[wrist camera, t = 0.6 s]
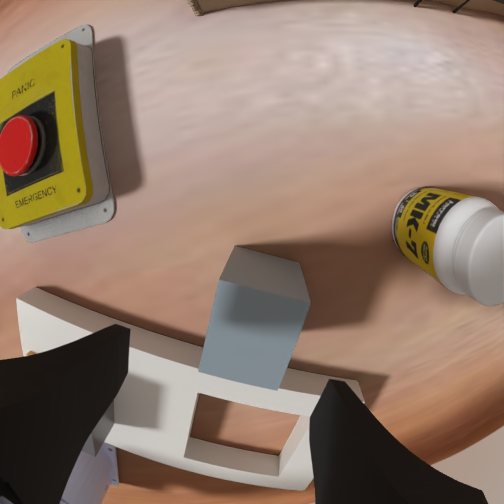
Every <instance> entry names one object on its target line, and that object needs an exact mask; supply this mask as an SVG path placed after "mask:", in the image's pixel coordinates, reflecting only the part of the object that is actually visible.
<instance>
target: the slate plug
mask: <svg viewBox="0 0 504 504" xmlns="http://www.w3.org/2000/svg"><path fill="white" fill-rule="evenodd" d="M310 305H311V301H310V298H309V294H308V290H307V287H306V283H305V280H304V276H303V273H302V270H301V266H300V263H299V262H295V261H291V260H287V259H284V258H280V257H276V256H272V255H269V254H265V253H261V252H257V251H253V250H250V249H246V248H242V247H238V246H234V249H233V251H232V253H231V255H230V257H229V259H228V261H227V263H226V266H225V268H224V270H223V272H222V274H221V276H220V279H219V282H218V286H217V290H216V295H215V299H214V303H213V307H212V312H211V316H210V321H209V325H208V329H207V334H206V338H205V343H204V347H203V352H202V356H201V361H200V365H199V370H198V372H201V373H205V374H208V375H212V376H216V377H219V378H223V379H227V380H231V381H235V382H239V383H244V384H248V385H252V386H257V387H261V388H266V389H271V390H276V391H278V388H279V386H280V384H281V381H282V379H283V376H284V374H285V371H286V369H287V366H288V364H289V361H290V359H291V356H292V353H293V351H294V348H295V346H296V343H297V340H298V338H299V335H300V332H301V330H302V327H303V324H304V322H305V319H306V316H307V313H308V310H309V308H310Z"/></svg>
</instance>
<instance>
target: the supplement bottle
mask: <svg viewBox="0 0 504 504" xmlns="http://www.w3.org/2000/svg"><path fill="white" fill-rule="evenodd" d="M392 235H393V239H394V242H395V244H396V246H397V248H398V249H399V250H400V252H401V253H402V254H403V255H404V256H406V257H407V258H408V259H409V260H411V261H412V262H413V263H415V264H416V265H417V266H419V267H420V268H421V269H423V270H424V271H425V272H426V273H428V274H429V275H430V276H432V277H433V278H434V279H436V280H437V281H438V282H439V283H441V284H442V285H443V286H444V287H446V288H447V289H448V290H450V291H452V292H454V293H456V294H460V295H468V296H469V297H471V298H473V299H474V300H476V301H477V302H479V303H480V304H483V305H486V306H495V305H498V304H501V303H503V302H504V212H503V211H500V210H499V209H498V208H497V207H496V206H495V205H494V204H493V203H492V202H490V201H488V200H486V199H484V198H481V197H477V196H472V195H468V194H463V193H458V192H453V191H448V190H443V189H437V188H432V187H420V188H416V189H413V190H411V191H410V192H408V193H407V194H406V195H404V196H403V197H402V199H401V200H400V201H399V203H398V204H397V206H396V208H395V211H394V214H393V219H392Z"/></svg>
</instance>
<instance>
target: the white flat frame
mask: <svg viewBox="0 0 504 504" xmlns="http://www.w3.org/2000/svg"><path fill="white" fill-rule="evenodd" d="M16 300H17V312H18V321H19V329H20V337H21V344H22V350H23V356H29V355H33V354H37V353H41V352H45V351H48V350H51V349H54V348H57V347H60V346H62V345H65V344H68V343H71V342H73V341H76V340H78V339H80V338H83V337H85V336H88V335H90V334H92V333H94V332H97V331H99V330H101V329H104V328H106V327H108V326H111V325H113V324H118V325H121V326H124V327H127V328H130V329H131V331H130V346H129V365H128V374H127V376H126V378H125V380H124V382H123V384H122V386H121V388H120V390H119V392H118V394H117V395H116V397H115V398H114V422H115V423H114V425H113V427H112V429H111V430H110V432H109V434H108V436H107V438H106V439H105V441H104V442H106V443H108V444H111V445H113V446H115V447H118V448H120V449H123V450H126V451H128V452H131V453H134V454H136V455H139V456H142V457H145V458H148V459H151V460H154V461H157V462H160V463H163V464H166V465H169V466H173V467H176V468H180V469H183V470H187V471H191V472H194V473H198V474H202V475H207V476H211V477H215V478H220V479H224V480H229V481H234V482H240V483H245V484H251V485H258V486H264V487H272V488H280V489H289V490H299V491H304V490H305V489H306V487H307V486H308V485H309V484H310V482H311V481H312V480H313V478H314V477H313V469H312V461H311V452H310V444H309V422H310V416H311V414H312V412H313V410H314V408H315V406H316V404H317V402H318V400H319V398H320V396H321V394H322V392H323V390H324V388H325V386H326V384H327V382H328V380H329V379H334V380H340V381H345V382H346V383H347V384H348V385H349V387H350V388H351V389H352V390H353V391H354V393H355V394H356V395H357V396H358V397H359V399H360V400H361V401H362V402H363V403H365V400H364V398H363V395H362V392H361V389H360V386H359V383H358V381H357V380H350V379H344V378H338V377H332V376H326V375H321V374H315V373H310V372H305V371H300V370H295V369H290V368H287V369H286V371H285V374H284V376H283V379H282V381H281V384H280V386H279V388H278V391H276V390H271V389H266V388H261V387H257V386H252V385H248V384H244V383H239V382H235V381H231V380H227V379H223V378H219V377H216V376H212V375H208V374H205V373H201V372H198V370H199V365H200V361H201V356H202V352H203V347H200V346H197V345H193V344H190V343H187V342H183V341H180V340H177V339H173V338H170V337H167V336H164V335H161V334H157V333H154V332H151V331H148V330H145V329H142V328H139V327H136V326H133V325H130V324H128V323H125V322H122V321H119V320H116V319H113V318H111V317H108V316H105V315H103V314H100V313H97V312H95V311H92V310H89V309H87V308H84V307H82V306H79V305H77V304H74V303H72V302H69V301H67V300H65V299H62V298H60V297H57V296H55V295H53V294H50V293H48V292H46V291H43V290H41V289H39V288H37V287H34V288H32V289H30V290H29V291H27V292H25V293H24V294H22V295H20V296H19V297H17V298H16ZM199 393H202V394H205V395H209V396H213V397H217V398H221V399H225V400H229V401H233V402H237V403H241V404H246V405H250V406H255V407H260V408H265V409H270V410H275V411H280V412H286V413H292V414H298V415H300V417H299V419H298V421H297V423H296V425H295V427H294V429H293V431H292V432H291V434H290V436H289V438H288V440H287V442H286V444H285V445H284V447H283V449H282V451H281V453H280V454H279V456H277V455H270V454H264V453H258V452H253V451H248V450H243V449H238V448H233V447H228V446H224V445H220V444H215V443H211V442H207V441H203V440H200V439H196V438H192V437H190V433H191V429H192V424H193V420H194V415H195V411H196V406H197V402H198V397H199Z"/></svg>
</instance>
